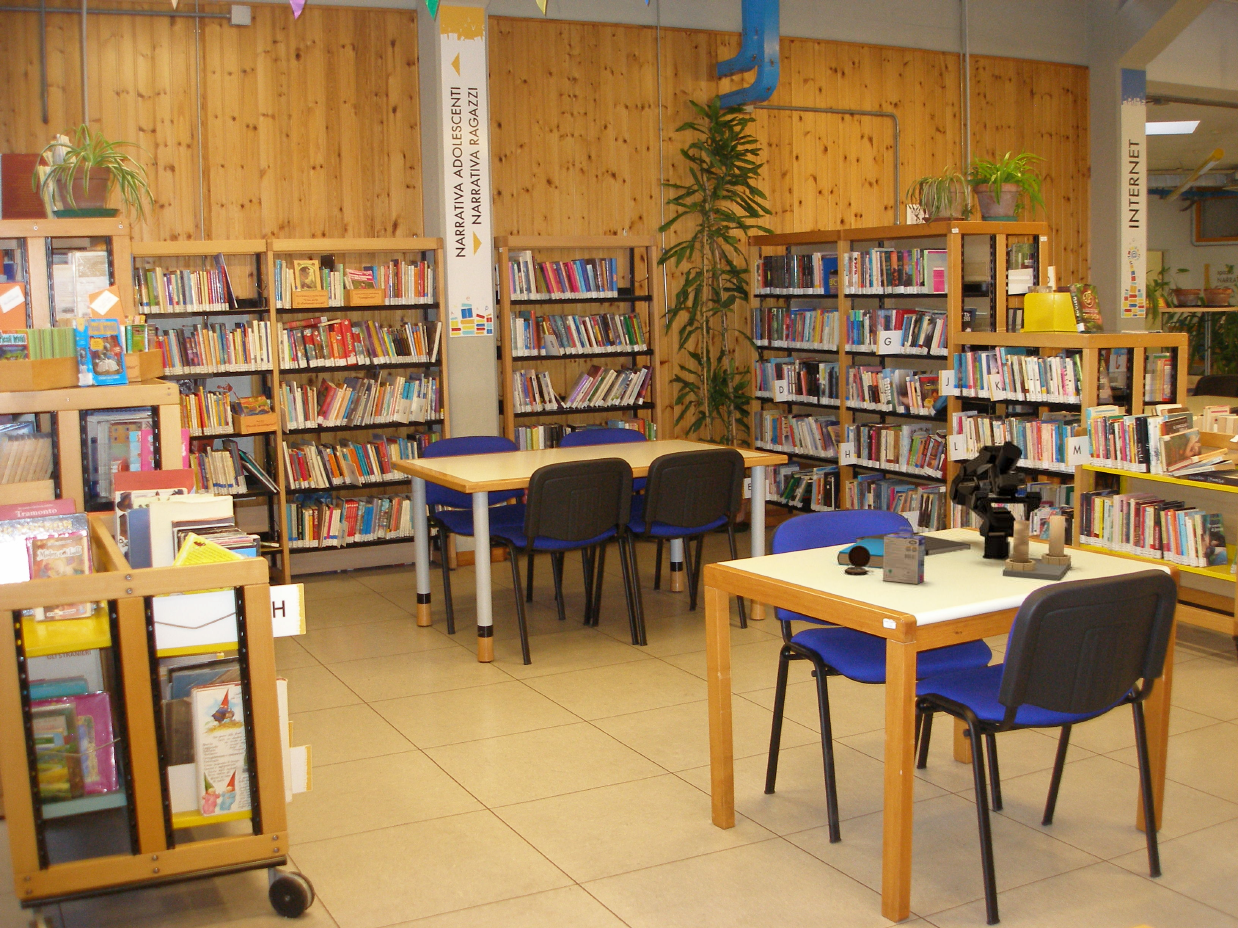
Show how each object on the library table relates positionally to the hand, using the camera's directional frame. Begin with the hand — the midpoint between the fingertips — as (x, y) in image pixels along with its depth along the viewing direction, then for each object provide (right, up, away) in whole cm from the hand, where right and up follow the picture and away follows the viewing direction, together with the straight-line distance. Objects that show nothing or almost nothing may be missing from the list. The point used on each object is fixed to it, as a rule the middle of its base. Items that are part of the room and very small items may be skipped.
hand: (1011, 524), depth 330 cm
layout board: (+6, -13, -4) cm, 15 cm away
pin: (0, -12, -8) cm, 14 cm away
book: (-34, -11, +14) cm, 39 cm away
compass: (-44, -14, -5) cm, 46 cm away
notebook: (-19, -9, +36) cm, 42 cm away
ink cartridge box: (-34, -15, -16) cm, 40 cm away
